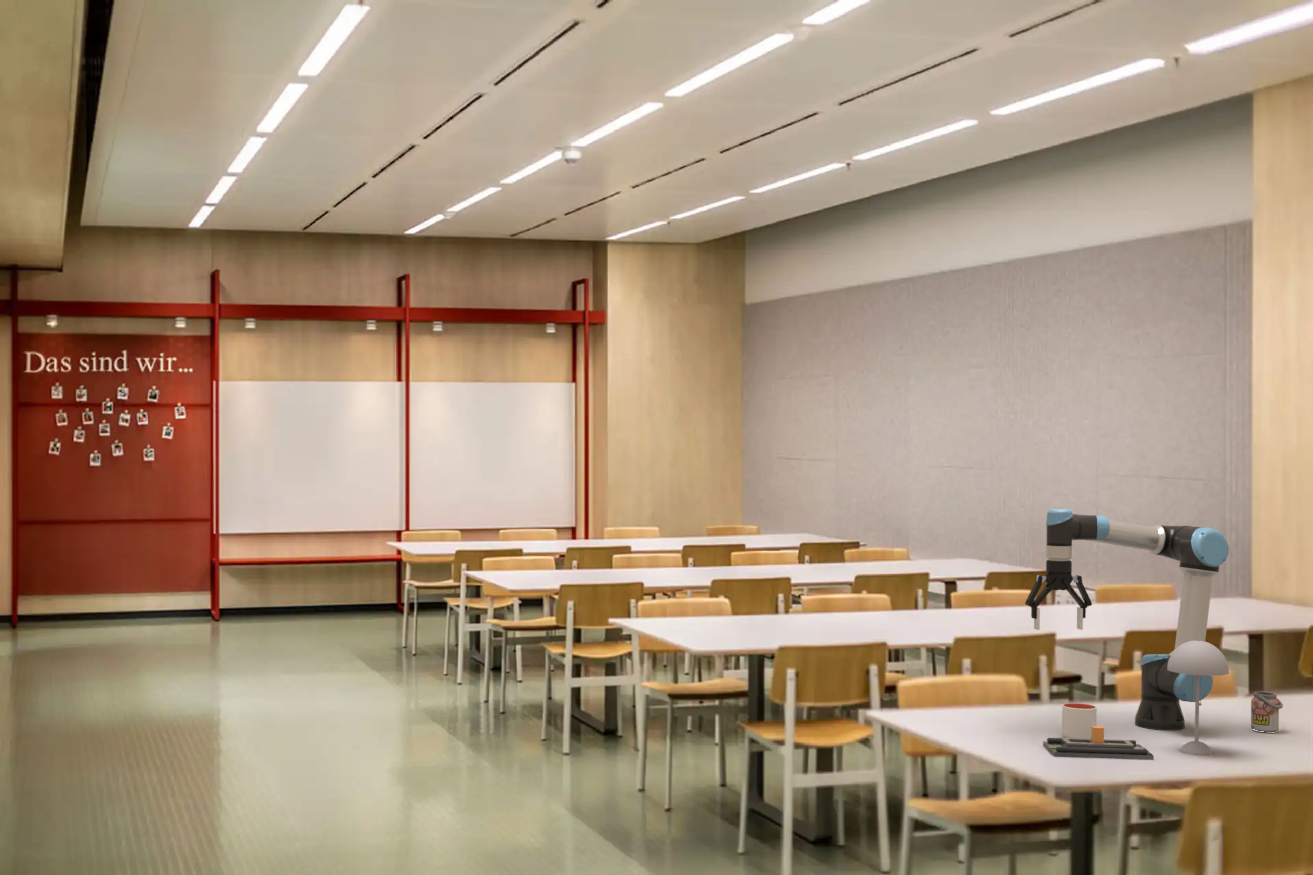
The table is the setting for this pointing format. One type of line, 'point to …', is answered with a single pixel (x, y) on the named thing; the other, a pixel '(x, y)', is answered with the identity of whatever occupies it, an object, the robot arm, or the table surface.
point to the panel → (1098, 755)
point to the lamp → (1197, 678)
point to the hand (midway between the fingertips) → (1058, 629)
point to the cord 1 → (1058, 740)
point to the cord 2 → (1101, 750)
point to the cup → (1078, 720)
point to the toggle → (1097, 734)
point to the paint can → (1265, 712)
